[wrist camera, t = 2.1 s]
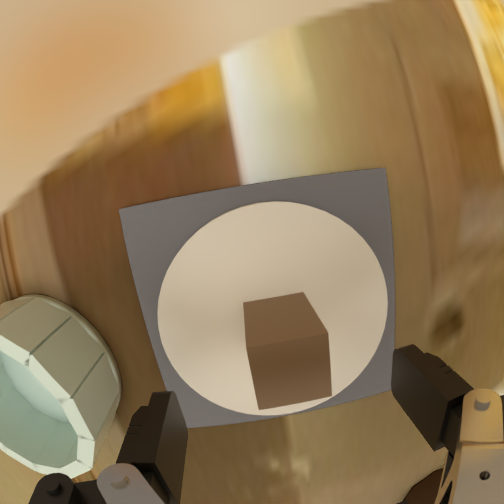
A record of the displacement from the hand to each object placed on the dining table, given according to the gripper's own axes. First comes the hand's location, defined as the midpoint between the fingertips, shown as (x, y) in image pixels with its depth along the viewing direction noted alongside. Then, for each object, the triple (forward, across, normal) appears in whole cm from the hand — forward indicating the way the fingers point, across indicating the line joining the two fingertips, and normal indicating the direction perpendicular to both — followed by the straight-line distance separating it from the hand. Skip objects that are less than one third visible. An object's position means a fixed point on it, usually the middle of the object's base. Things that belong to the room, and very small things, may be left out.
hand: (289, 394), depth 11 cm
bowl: (+8, +16, +2) cm, 18 cm away
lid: (+8, 0, 0) cm, 8 cm away
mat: (+8, 0, 0) cm, 8 cm away
